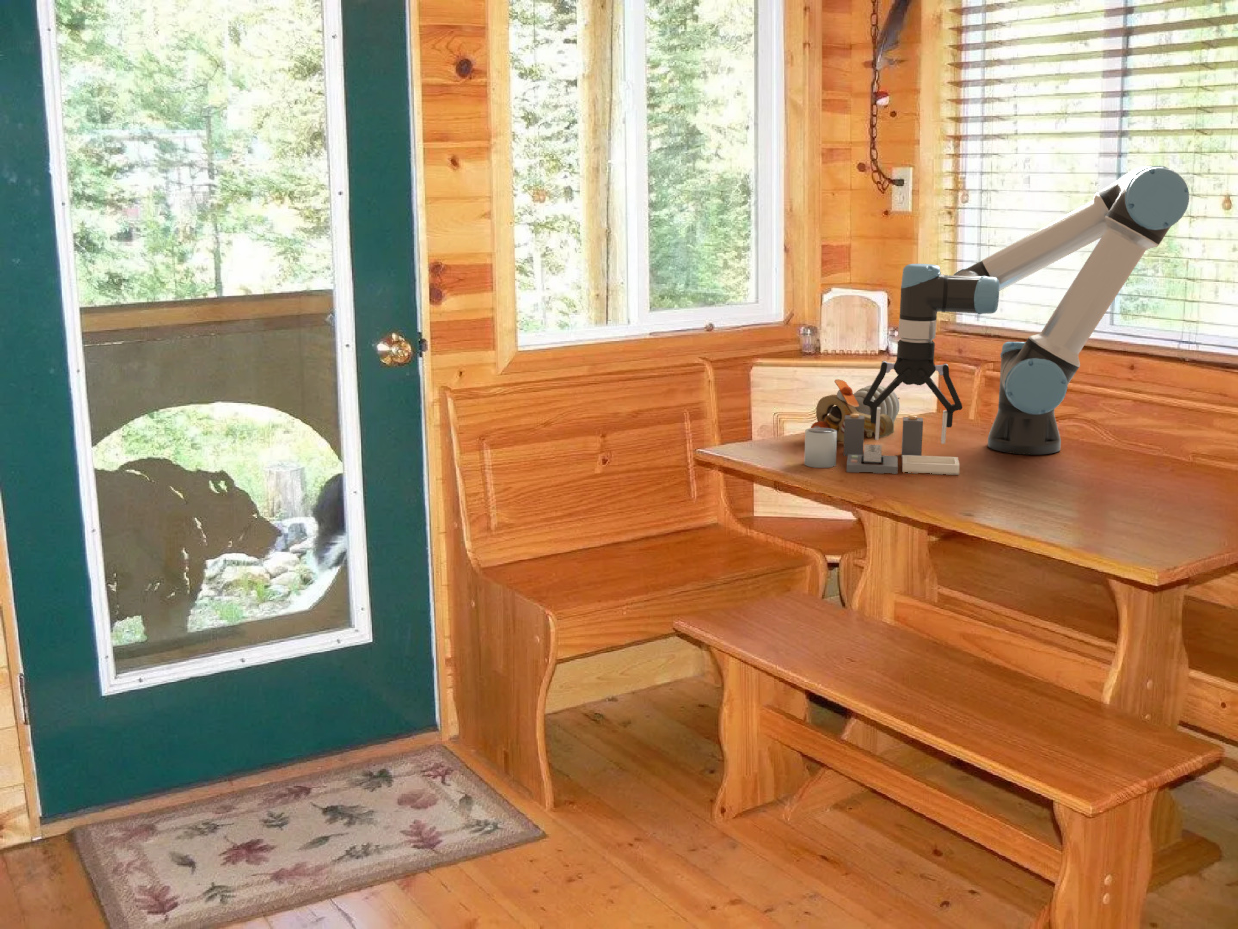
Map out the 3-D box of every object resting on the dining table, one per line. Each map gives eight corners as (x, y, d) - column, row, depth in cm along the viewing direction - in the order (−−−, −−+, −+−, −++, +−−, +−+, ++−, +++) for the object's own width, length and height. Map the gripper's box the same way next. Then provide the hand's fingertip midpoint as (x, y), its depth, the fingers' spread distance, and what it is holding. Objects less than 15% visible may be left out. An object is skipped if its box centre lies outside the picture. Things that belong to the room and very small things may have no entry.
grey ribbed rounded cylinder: (912, 432, 322) (914, 383, 319) (868, 442, 310) (870, 392, 308) (873, 425, 329) (875, 378, 327) (829, 435, 317) (831, 387, 315)
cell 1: (863, 452, 300) (864, 413, 298) (862, 456, 296) (864, 416, 294) (844, 452, 301) (845, 412, 299) (843, 456, 297) (844, 415, 295)
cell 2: (920, 455, 298) (922, 414, 296) (921, 459, 294) (923, 418, 292) (901, 454, 299) (903, 414, 297) (901, 458, 295) (903, 417, 293)
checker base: (897, 463, 290) (897, 454, 290) (897, 474, 281) (897, 465, 280) (847, 461, 292) (848, 452, 292) (846, 472, 282) (846, 463, 282)
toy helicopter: (830, 436, 317) (832, 375, 314) (903, 451, 301) (905, 388, 298) (805, 441, 312) (807, 379, 309) (877, 456, 296) (880, 392, 293)
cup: (836, 461, 292) (837, 427, 290) (835, 468, 285) (836, 434, 284) (805, 460, 293) (806, 426, 291) (803, 467, 287) (804, 432, 285)
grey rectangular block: (881, 454, 289) (881, 444, 288) (880, 461, 282) (881, 452, 282) (864, 453, 289) (864, 444, 289) (863, 461, 283) (864, 451, 282)
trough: (957, 466, 287) (957, 457, 286) (959, 475, 280) (959, 465, 279) (902, 464, 289) (902, 455, 288) (902, 472, 282) (902, 463, 281)
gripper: (977, 339, 292) (969, 440, 297) (855, 334, 297) (850, 433, 301) (979, 344, 285) (972, 447, 290) (854, 339, 289) (849, 440, 294)
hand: (909, 440), depth 296 cm, fingers open, 13 cm apart
